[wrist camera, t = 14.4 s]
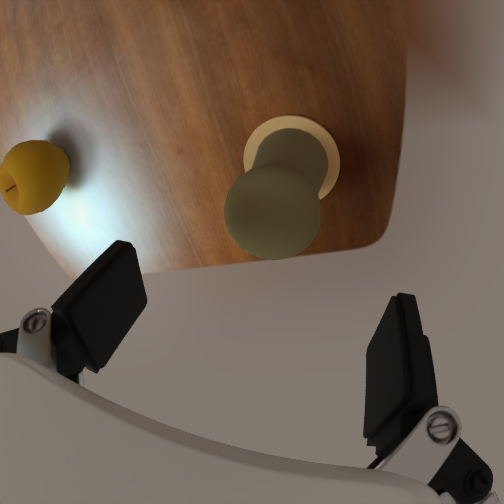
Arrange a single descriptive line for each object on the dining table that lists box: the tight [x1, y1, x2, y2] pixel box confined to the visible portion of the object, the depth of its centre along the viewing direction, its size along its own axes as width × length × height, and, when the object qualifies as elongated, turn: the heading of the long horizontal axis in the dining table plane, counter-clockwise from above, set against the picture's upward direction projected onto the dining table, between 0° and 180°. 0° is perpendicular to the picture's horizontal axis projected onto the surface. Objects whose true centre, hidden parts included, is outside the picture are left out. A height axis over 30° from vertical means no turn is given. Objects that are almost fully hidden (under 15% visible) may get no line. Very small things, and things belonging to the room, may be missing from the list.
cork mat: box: [244, 115, 340, 200], centre depth 24 cm, size 8×8×1 cm
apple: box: [0, 140, 70, 215], centre depth 25 cm, size 9×8×9 cm
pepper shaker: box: [224, 128, 328, 260], centre depth 19 cm, size 6×6×11 cm
